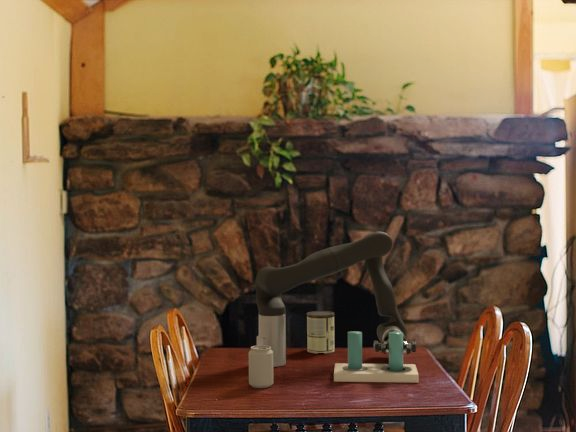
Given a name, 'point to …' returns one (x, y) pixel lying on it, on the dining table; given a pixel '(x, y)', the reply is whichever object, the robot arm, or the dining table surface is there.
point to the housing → (375, 373)
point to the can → (261, 366)
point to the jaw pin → (395, 351)
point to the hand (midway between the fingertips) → (396, 351)
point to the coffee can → (320, 332)
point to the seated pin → (354, 350)
